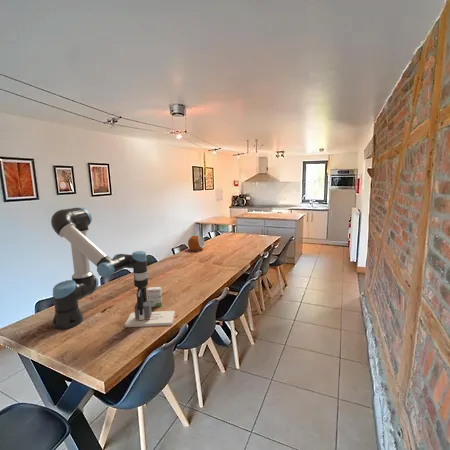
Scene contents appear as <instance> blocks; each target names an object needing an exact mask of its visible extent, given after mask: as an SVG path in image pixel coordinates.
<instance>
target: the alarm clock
mask: <svg viewBox="0 0 450 450" xmlns="http://www.w3.org/2000/svg"><path fill="white" fill-rule="evenodd" d="M187 245H188V248H189V250H190V251H192V252H200V251H202V250H203V248H204V247H205V239H204V238H203V237H202V236H200V235H198V234H194V235H192V236H191V237H189V239H188V240H187Z"/></svg>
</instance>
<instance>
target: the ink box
mask: <svg viewBox="0 0 450 450" xmlns="http://www.w3.org/2000/svg"><path fill="white" fill-rule="evenodd" d="M146 292H147V301H148V302H150V301H151V308H155V307H162V305H163V296H162V295H163V294H162V287H161V286H154V287H152V286H151V287H147V288H146Z"/></svg>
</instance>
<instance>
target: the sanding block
mask: <svg viewBox="0 0 450 450" xmlns="http://www.w3.org/2000/svg"><path fill="white" fill-rule="evenodd" d="M134 305H135V306H134V313H135V320H139V310H137V302H136V303H135V304H134ZM143 308H144V318H145V319H150V317H151V315H152V312H153V311H152V310H153V309H152V307H151V301H150V302H143Z"/></svg>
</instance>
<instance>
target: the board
mask: <svg viewBox="0 0 450 450" xmlns="http://www.w3.org/2000/svg"><path fill="white" fill-rule="evenodd" d="M175 314H176V311H175V310H165V311H164V310H162V311H161V310H160V311H152V315H151V317H150V319H144V320H135V312H131V313H130V314H129V316H128V318H127V320H126V321H125V323H124V328H137V327H159V326H173V323H174V319H175Z"/></svg>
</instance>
